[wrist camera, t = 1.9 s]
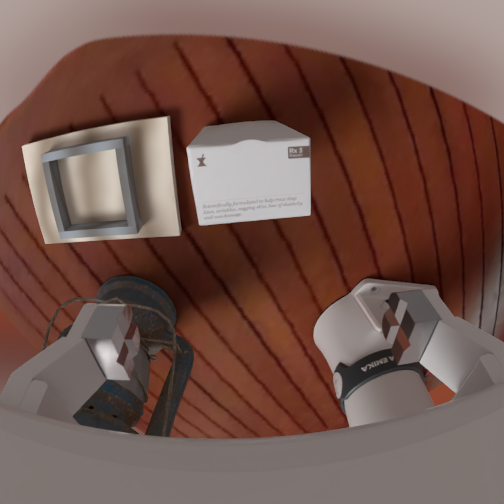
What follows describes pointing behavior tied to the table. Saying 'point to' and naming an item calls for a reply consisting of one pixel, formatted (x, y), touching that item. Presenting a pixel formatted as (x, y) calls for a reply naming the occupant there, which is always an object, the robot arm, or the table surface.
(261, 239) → the table surface
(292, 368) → the table surface
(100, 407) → the lantern
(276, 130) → the skincare box
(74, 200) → the board
